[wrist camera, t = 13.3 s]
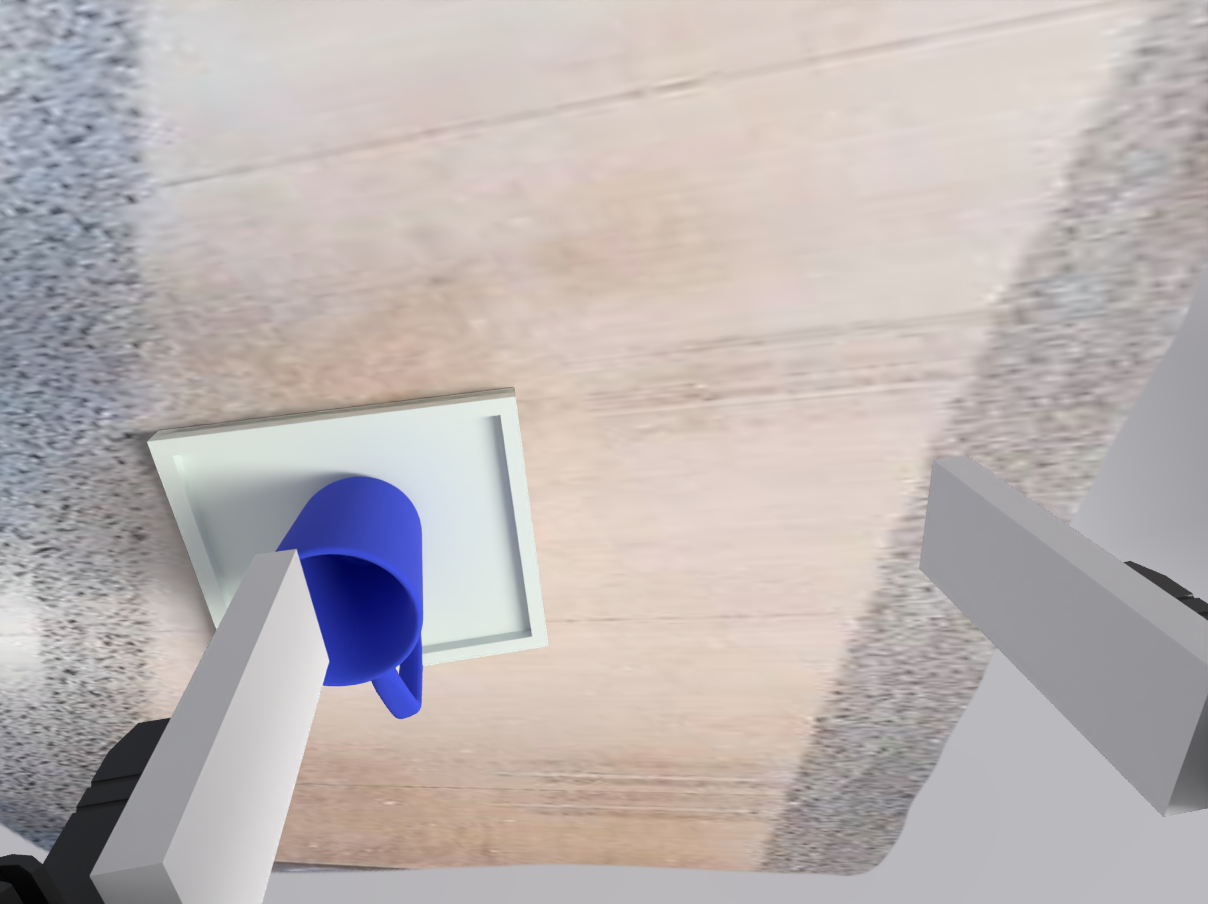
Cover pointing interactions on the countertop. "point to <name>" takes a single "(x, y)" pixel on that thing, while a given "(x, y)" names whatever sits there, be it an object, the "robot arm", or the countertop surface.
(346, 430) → the tray
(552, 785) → the countertop surface
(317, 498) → the mug
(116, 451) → the countertop surface
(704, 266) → the countertop surface
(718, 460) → the countertop surface
